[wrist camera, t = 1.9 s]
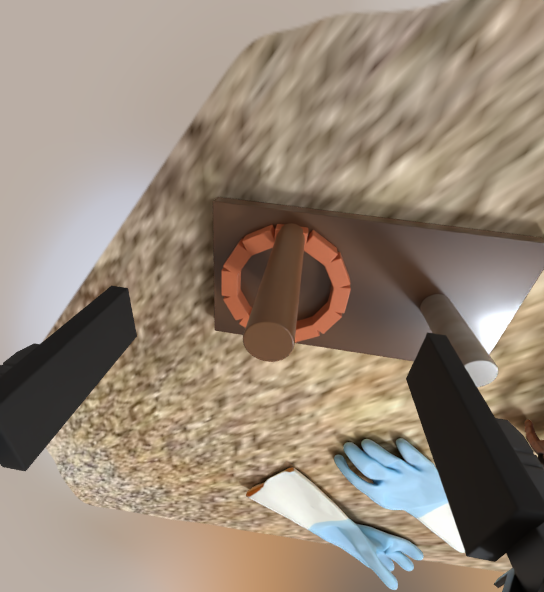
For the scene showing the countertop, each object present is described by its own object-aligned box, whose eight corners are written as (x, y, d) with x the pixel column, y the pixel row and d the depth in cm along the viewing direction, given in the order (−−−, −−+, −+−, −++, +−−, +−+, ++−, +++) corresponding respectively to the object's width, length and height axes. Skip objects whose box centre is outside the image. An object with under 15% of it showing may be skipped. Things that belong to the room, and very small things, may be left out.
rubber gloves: (382, 416, 36) (393, 471, 30) (530, 527, 44) (560, 585, 39) (246, 487, 49) (237, 534, 43) (380, 562, 57) (386, 610, 51)
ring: (226, 211, 24) (141, 302, 12) (362, 229, 23) (407, 342, 12) (225, 323, 30) (167, 455, 18) (334, 340, 29) (344, 487, 18)
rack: (217, 196, 25) (169, 236, 17) (546, 237, 23) (668, 304, 15) (218, 322, 32) (184, 393, 24) (472, 360, 30) (528, 451, 22)
